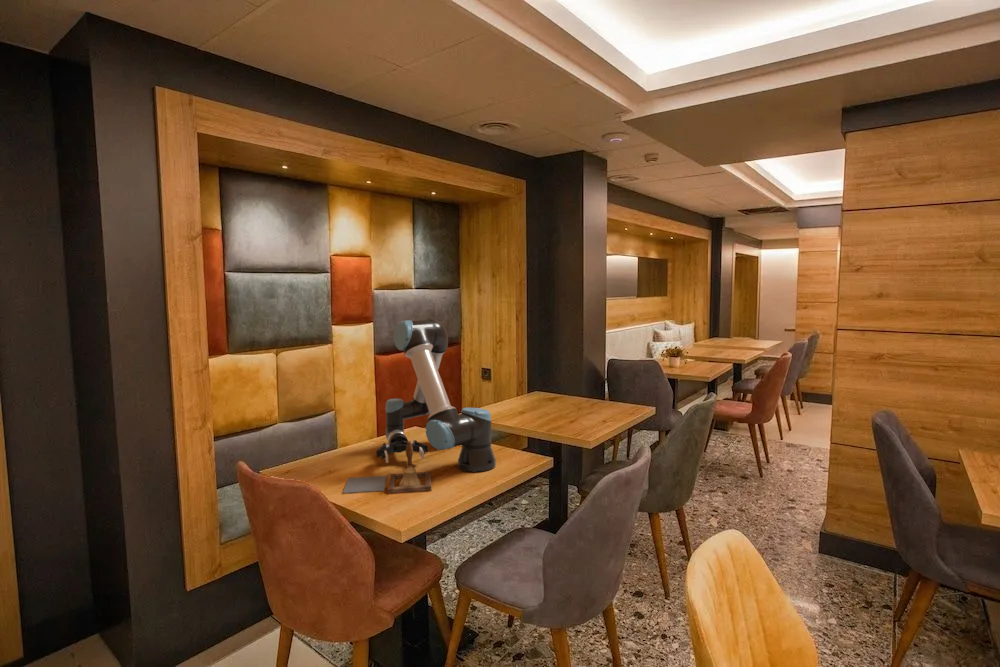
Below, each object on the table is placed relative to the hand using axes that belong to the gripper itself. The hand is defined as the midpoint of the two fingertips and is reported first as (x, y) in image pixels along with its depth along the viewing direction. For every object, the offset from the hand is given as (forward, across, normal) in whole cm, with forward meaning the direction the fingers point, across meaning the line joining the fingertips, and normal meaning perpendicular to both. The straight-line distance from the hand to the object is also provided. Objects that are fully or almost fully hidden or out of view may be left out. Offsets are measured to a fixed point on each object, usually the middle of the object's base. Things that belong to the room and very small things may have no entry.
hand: (405, 457), depth 195 cm
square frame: (+10, 0, -7) cm, 12 cm away
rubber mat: (+5, +15, -7) cm, 18 cm away
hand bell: (+10, 0, -7) cm, 12 cm away
